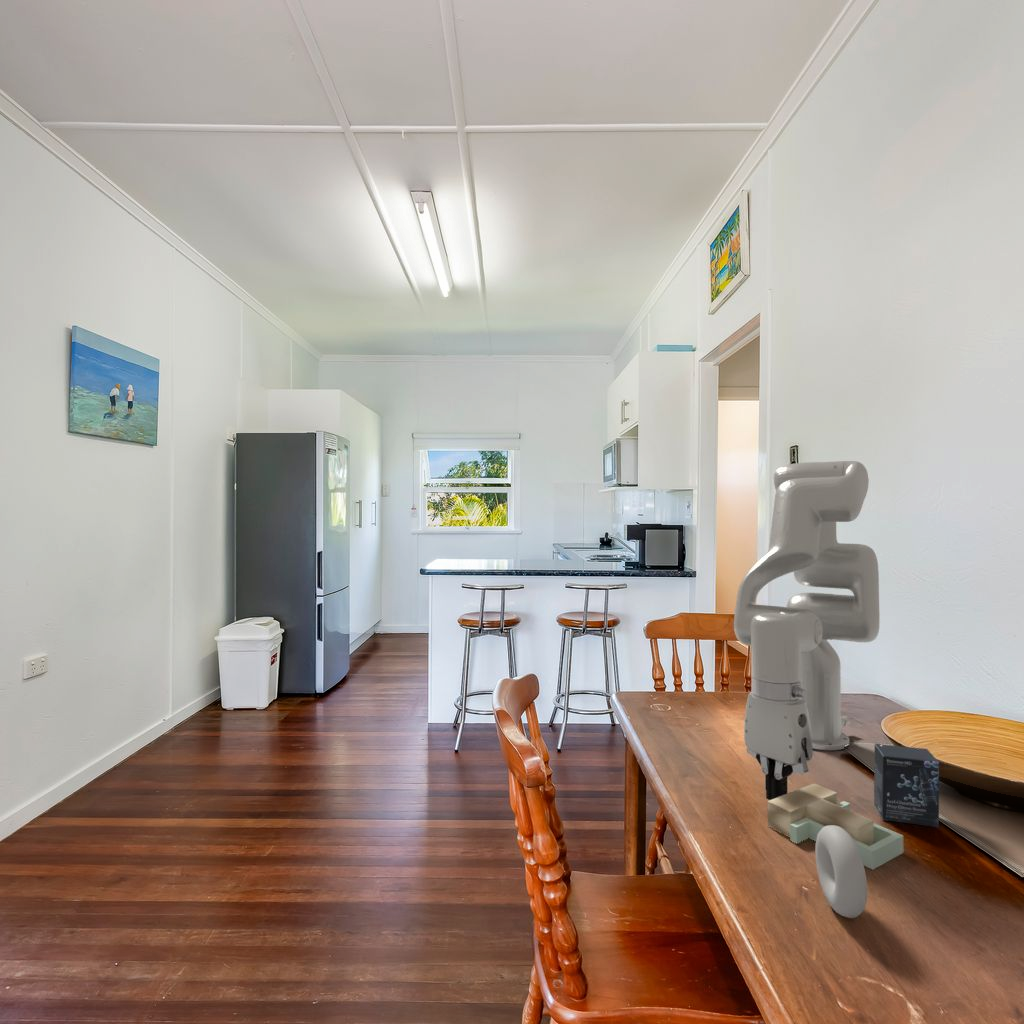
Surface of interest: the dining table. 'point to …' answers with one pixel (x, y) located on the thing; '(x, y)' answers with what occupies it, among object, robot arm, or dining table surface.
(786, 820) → the t block
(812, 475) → the robot arm
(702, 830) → the dining table surface
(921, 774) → the box
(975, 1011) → the dining table surface
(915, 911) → the dining table surface
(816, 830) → the t dock
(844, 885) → the donut
